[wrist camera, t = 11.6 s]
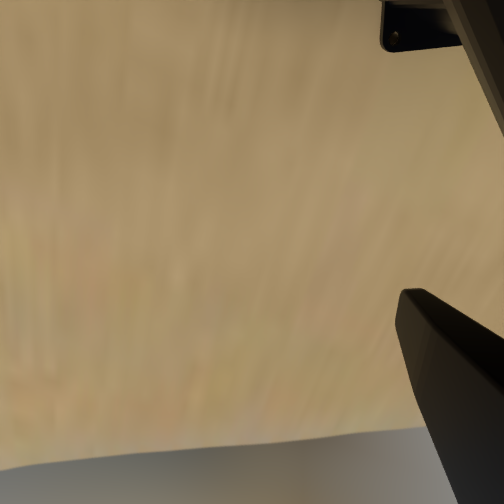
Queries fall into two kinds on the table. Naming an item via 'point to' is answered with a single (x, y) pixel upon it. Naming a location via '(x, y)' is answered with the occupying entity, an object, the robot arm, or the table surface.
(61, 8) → the table surface
